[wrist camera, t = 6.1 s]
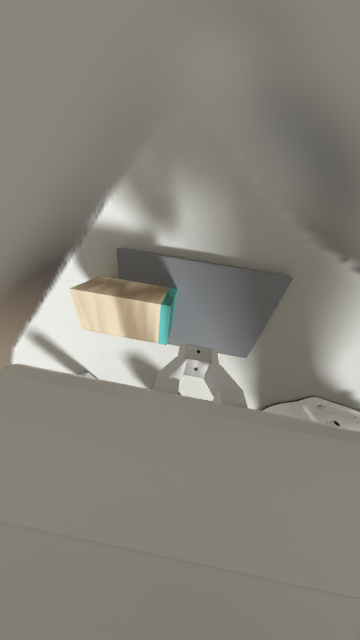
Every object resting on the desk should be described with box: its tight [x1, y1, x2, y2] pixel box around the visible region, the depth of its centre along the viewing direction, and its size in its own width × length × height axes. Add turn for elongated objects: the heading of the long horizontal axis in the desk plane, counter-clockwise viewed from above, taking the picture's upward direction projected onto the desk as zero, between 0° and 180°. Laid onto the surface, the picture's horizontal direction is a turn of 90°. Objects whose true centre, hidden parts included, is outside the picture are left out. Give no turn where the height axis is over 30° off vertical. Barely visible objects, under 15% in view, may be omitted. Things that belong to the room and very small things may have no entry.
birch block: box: [70, 276, 178, 345], centre depth 16 cm, size 5×5×10 cm
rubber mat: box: [117, 248, 292, 358], centre depth 19 cm, size 20×13×1 cm, turn 82°
